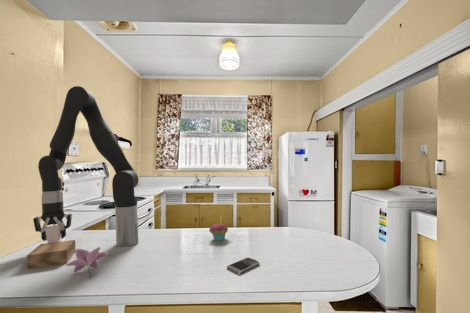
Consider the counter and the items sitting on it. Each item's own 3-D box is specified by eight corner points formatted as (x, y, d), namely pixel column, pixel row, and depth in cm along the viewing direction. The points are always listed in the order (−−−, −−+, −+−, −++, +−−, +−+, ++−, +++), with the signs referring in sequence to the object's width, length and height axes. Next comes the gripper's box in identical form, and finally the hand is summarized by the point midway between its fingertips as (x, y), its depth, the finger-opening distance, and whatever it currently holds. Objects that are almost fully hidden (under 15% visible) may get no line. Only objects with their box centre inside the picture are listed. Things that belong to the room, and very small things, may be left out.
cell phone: (261, 265, 87) (260, 261, 87) (238, 276, 79) (237, 272, 79) (248, 260, 91) (248, 256, 91) (225, 270, 84) (225, 266, 84)
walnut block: (75, 251, 103) (75, 239, 103) (66, 263, 92) (66, 249, 92) (41, 256, 99) (40, 244, 99) (27, 269, 88) (27, 255, 88)
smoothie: (53, 251, 104) (52, 218, 104) (41, 251, 105) (39, 218, 105) (66, 246, 110) (65, 215, 110) (54, 245, 111) (53, 214, 111)
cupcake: (231, 237, 116) (230, 212, 116) (221, 243, 109) (220, 216, 108) (216, 234, 120) (216, 210, 120) (205, 240, 113) (205, 214, 113)
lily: (115, 269, 88) (109, 243, 91) (103, 271, 77) (96, 241, 80) (80, 284, 85) (75, 257, 88) (61, 288, 74) (56, 257, 78)
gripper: (74, 198, 113) (75, 234, 113) (36, 201, 108) (37, 239, 108) (69, 200, 106) (70, 239, 106) (28, 204, 101) (30, 244, 101)
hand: (54, 239), depth 107 cm, fingers closed on smoothie, 6 cm apart
